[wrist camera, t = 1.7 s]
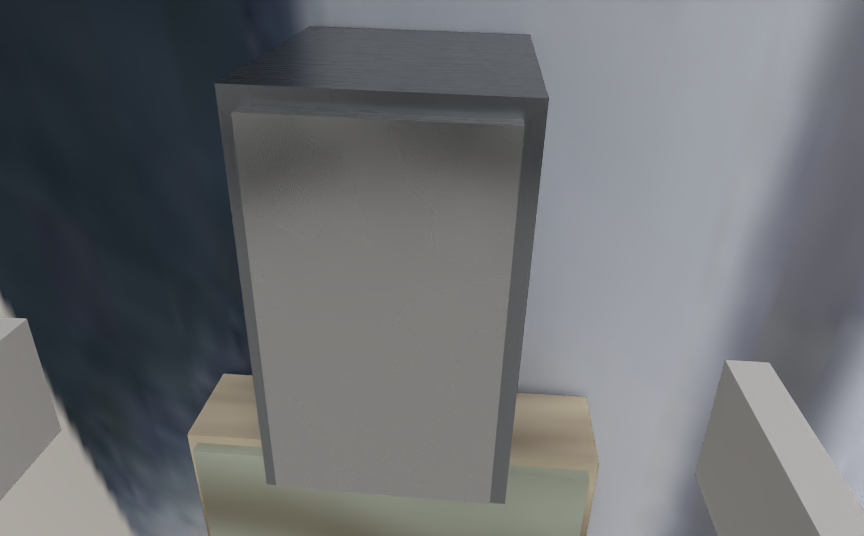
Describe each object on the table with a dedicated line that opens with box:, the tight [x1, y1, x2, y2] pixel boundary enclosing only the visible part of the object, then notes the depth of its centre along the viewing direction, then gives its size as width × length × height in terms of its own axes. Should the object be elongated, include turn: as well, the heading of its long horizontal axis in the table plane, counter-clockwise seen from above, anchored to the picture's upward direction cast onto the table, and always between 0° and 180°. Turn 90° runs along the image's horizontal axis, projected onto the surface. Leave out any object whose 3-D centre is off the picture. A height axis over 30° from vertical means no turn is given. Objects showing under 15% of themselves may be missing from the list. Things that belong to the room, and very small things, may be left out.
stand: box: [187, 374, 599, 536], centre depth 24 cm, size 8×13×4 cm, turn 89°
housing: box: [215, 26, 549, 504], centre depth 17 cm, size 10×6×7 cm, turn 179°
